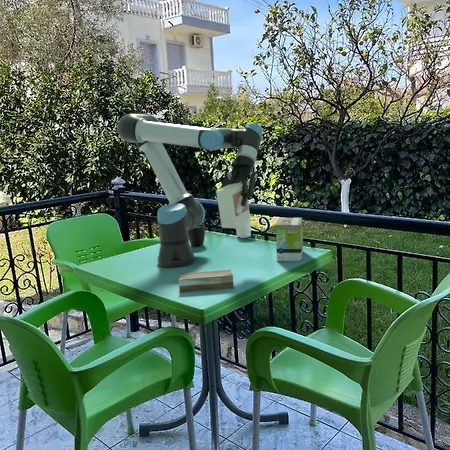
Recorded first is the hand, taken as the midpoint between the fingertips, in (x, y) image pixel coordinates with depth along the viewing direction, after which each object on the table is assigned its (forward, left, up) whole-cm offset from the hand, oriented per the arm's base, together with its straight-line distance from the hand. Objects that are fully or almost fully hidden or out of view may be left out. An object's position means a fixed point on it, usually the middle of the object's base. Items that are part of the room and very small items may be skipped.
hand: (229, 213), depth 162 cm
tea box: (+9, +26, -22) cm, 36 cm away
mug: (-40, +25, -22) cm, 52 cm away
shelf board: (-1, -15, -22) cm, 27 cm away
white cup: (-29, +47, -22) cm, 60 cm away
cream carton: (0, +4, -5) cm, 6 cm away
